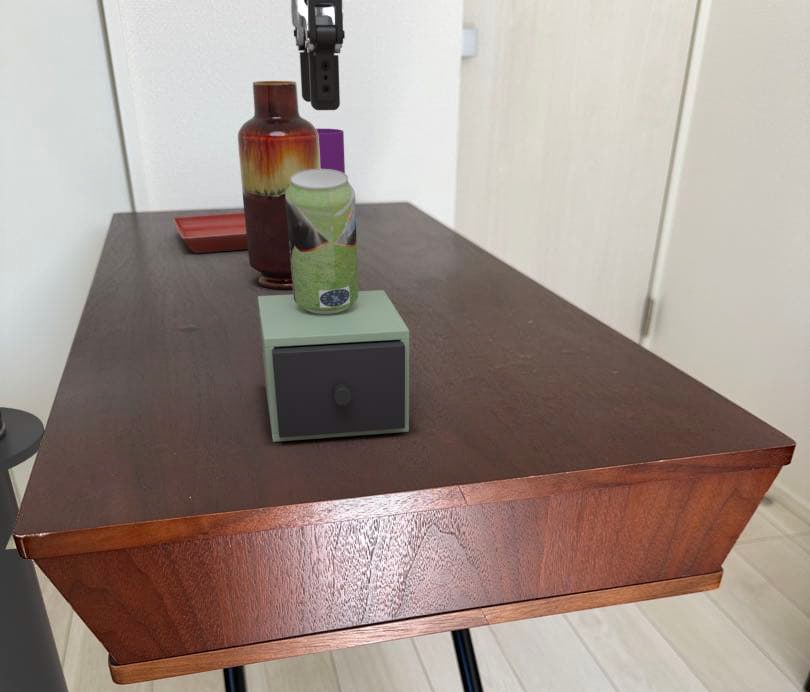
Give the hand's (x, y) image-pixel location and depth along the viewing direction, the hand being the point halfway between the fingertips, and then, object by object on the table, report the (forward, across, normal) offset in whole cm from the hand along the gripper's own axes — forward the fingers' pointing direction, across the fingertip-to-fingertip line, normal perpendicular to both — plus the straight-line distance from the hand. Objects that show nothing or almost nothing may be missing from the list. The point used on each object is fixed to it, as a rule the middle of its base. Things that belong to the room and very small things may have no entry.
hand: (320, 105), depth 69 cm
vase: (+27, -50, -1) cm, 57 cm away
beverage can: (+17, -1, 0) cm, 17 cm away
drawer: (+26, +2, 0) cm, 26 cm away
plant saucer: (+27, -79, -9) cm, 84 cm away
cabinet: (+27, 0, 0) cm, 27 cm away
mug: (+27, -106, +7) cm, 110 cm away
